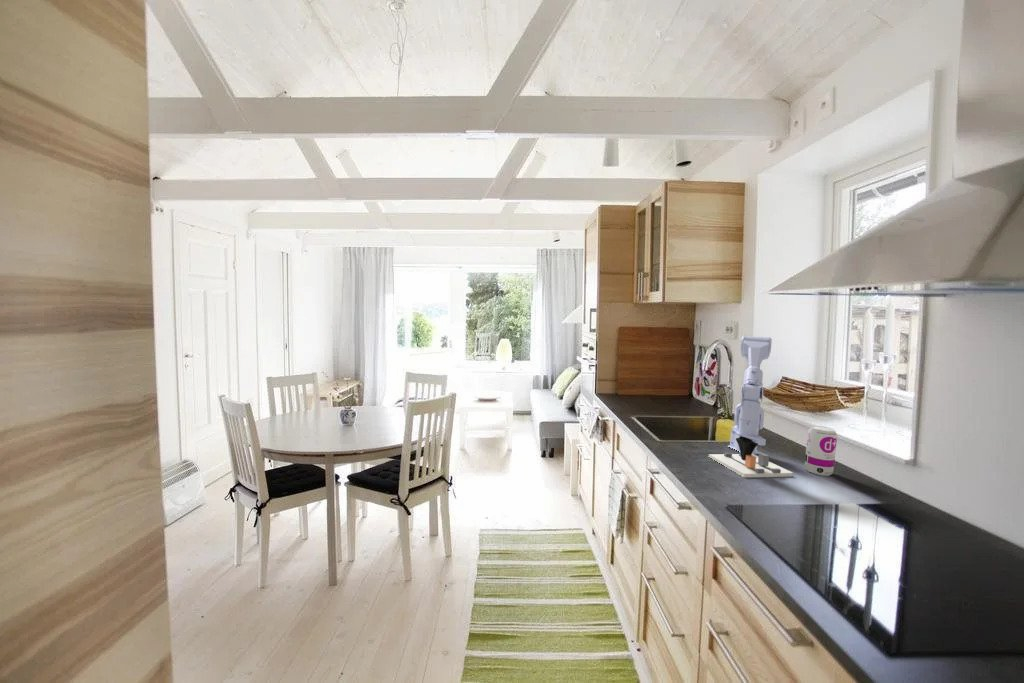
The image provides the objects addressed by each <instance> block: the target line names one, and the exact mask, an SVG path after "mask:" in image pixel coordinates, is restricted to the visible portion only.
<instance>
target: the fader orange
mask: <svg viewBox="0 0 1024 683" xmlns="http://www.w3.org/2000/svg"><path fill="white" fill-rule="evenodd" d="M755 465H756V457H755V456H753V455H746V460H745V466H747V467H749V468H755Z"/></svg>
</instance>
